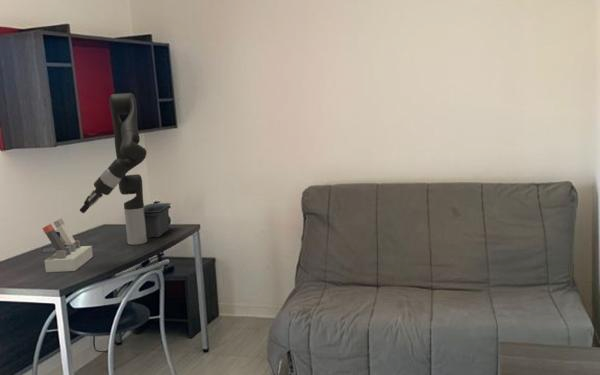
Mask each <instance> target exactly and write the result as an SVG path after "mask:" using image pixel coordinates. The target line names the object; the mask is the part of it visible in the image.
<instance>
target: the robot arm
mask: <svg viewBox="0 0 600 375" xmlns="http://www.w3.org/2000/svg"><path fill="white" fill-rule="evenodd" d="M109 108H110V114H111V118H112V120H111V121H112V126H113V136H114V147H115V156H116V159H114V160H113V161H112V163H111V164H110V165H109V166H108V167H107V168H106V169H105V170H104V171H103V172H102V173H101V174H100V176H99V177H98V178H97V179H96V180H95V181H94V183H93V187H94V188H95V189H94V190H92V191H91V192H90V194H89V195H88V196H87V197H86V199H85V200H84V202H83V205H82V206H81V207H80V209H79V212H80V213H82V214H85V213H86V212H87V211H88V210H89V208H90V207H92V206H93V205H95V204H96V203H97V202H98V201H99V200H100V199H101V198H103V196H104V195H105V196H109V195H110V194H111V193H112V192H113V190H115V188H116V187H117V186H118V190H119V192H120V194H121V195H126V196H127V195H135V194H136V195H135V196H134V197H133V198H132V199H130V200H127V201H126V202H124V203H123V207H124V208H123V209H124V217H125V218H124V220H125V228H126V238H127V244H128V245H132V246H133V245H136V246H137V245H141V244H145V243H147V242H148V238H147V234H146V223H145V213H144V206H145V205H144V204H145V203H144V193H143V178H142V176H141V175H140V174H127V173H129V171H131V170H132V169H133V168H135V167H137V166H138V165H140V164H141V163H143V161H145V159H146V157H147V149H145V148H144V146H142V145H140V144H139V143H140V140H141V139H140V134H139V128H138V108H137V99H136V97H135V95H134V93H131V92H127V93H126V92H125V93H124V92H123V93H113V94H111V95H110V97H109ZM121 115H123V116H124V115H128V116H127V117H126V119H124V121H122V120H121V117H120V116H121Z"/></svg>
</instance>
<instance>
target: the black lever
mask: <svg viewBox="0 0 600 375" xmlns="http://www.w3.org/2000/svg"><path fill="white" fill-rule="evenodd" d="M55 230H56V229H55V228H54V226H53V225H52V224H51V223H49V224H47V225H46V226H44V227H42V231H43V233H44V234H45V235H46V237H47V239H48V240H49V241H50V243H51V244H52V246H53V248H54V249H55V252H56V251H60V250H64V249H65V248H66V247H65V246H64V244H63V243H62V241H61V239H60V238H59V236H58V235H57V233H56V231H55ZM66 254H68V251H66V250H65V255H66Z"/></svg>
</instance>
